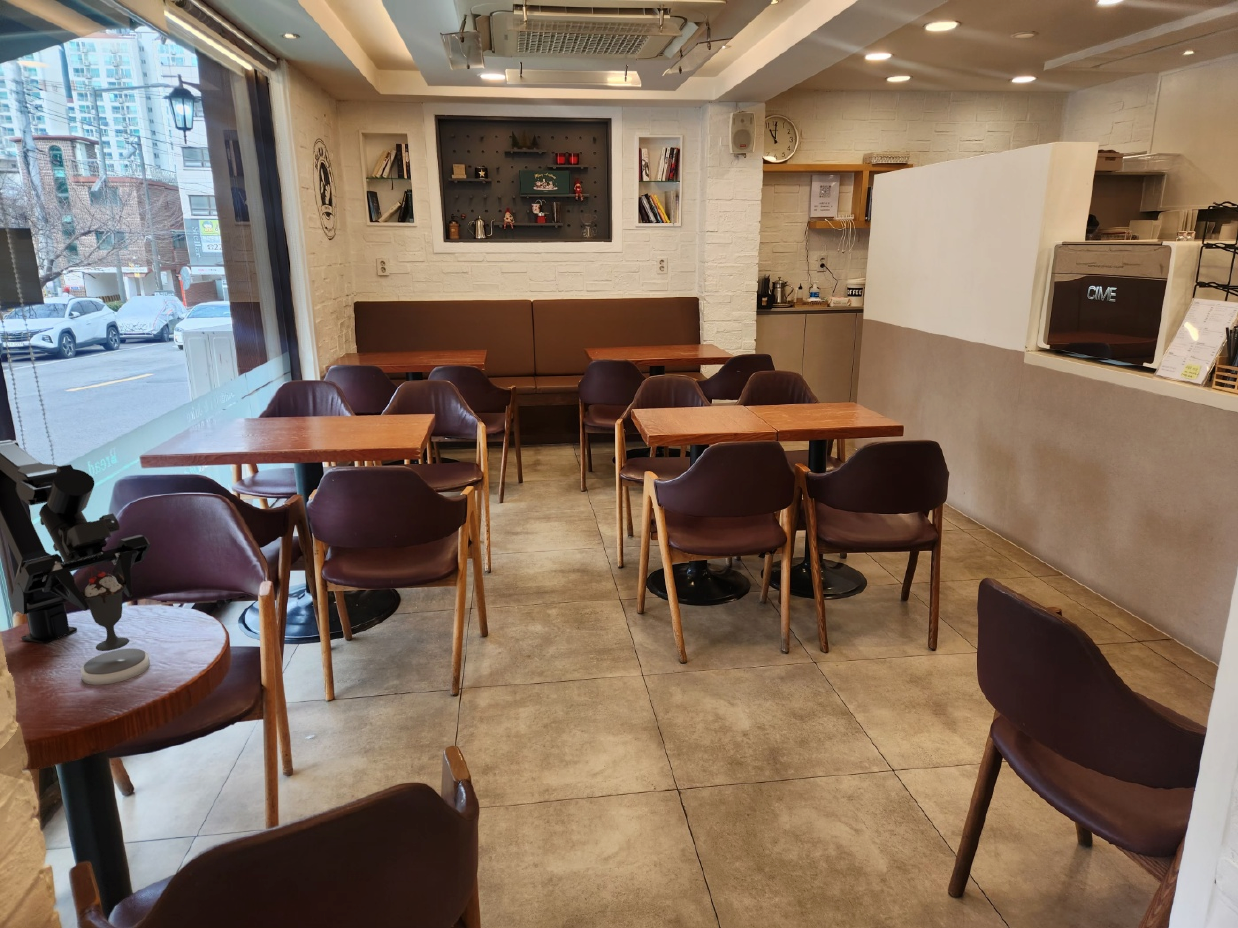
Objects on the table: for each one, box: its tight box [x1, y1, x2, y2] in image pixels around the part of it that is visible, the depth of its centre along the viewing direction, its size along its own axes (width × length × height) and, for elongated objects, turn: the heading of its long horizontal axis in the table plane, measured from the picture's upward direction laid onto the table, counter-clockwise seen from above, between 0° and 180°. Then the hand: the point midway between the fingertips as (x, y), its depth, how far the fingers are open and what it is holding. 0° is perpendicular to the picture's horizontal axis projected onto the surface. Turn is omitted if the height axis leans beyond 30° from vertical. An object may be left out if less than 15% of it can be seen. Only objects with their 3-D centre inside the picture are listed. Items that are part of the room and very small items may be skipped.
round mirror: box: [80, 648, 151, 686], centre depth 135 cm, size 10×10×2 cm
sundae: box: [80, 566, 130, 652], centre depth 133 cm, size 7×7×15 cm
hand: (109, 602), depth 132 cm, fingers closed on sundae, 6 cm apart
